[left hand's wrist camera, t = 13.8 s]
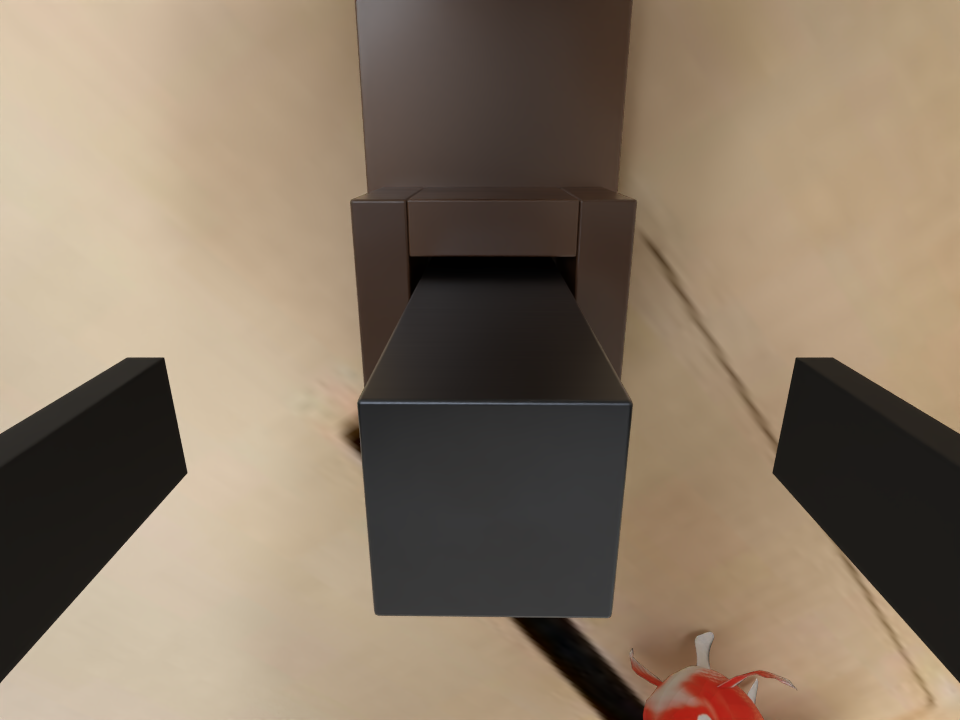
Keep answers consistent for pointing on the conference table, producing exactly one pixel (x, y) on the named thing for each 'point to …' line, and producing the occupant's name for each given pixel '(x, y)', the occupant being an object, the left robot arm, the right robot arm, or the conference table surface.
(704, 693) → the fish
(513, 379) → the peg
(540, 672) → the conference table surface
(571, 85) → the holder
